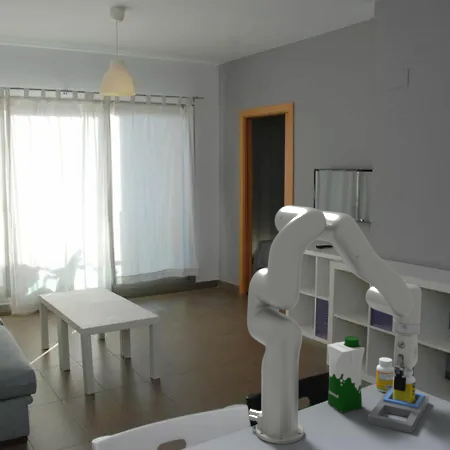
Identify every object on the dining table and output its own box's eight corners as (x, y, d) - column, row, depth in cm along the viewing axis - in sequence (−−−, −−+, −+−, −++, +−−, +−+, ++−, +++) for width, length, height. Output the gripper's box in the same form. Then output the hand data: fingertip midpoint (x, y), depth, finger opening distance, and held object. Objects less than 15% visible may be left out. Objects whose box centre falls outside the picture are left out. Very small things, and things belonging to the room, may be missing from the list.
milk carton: (366, 408, 161) (368, 341, 159) (340, 414, 157) (342, 345, 155) (347, 397, 169) (349, 333, 166) (322, 402, 165) (323, 337, 163)
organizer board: (367, 422, 152) (367, 413, 151) (388, 394, 170) (389, 386, 170) (411, 433, 146) (411, 423, 146) (428, 402, 165) (428, 394, 164)
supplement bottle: (379, 384, 178) (380, 355, 177) (396, 388, 175) (397, 358, 174) (373, 390, 174) (374, 360, 173) (390, 394, 171) (391, 363, 170)
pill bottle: (416, 410, 159) (417, 373, 158) (393, 408, 160) (394, 371, 159) (413, 401, 165) (414, 365, 164) (391, 400, 166) (392, 364, 165)
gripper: (412, 336, 151) (410, 397, 153) (425, 322, 166) (423, 377, 168) (384, 332, 155) (382, 391, 157) (400, 318, 170) (397, 373, 171)
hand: (403, 384), depth 162 cm, fingers open, 9 cm apart
